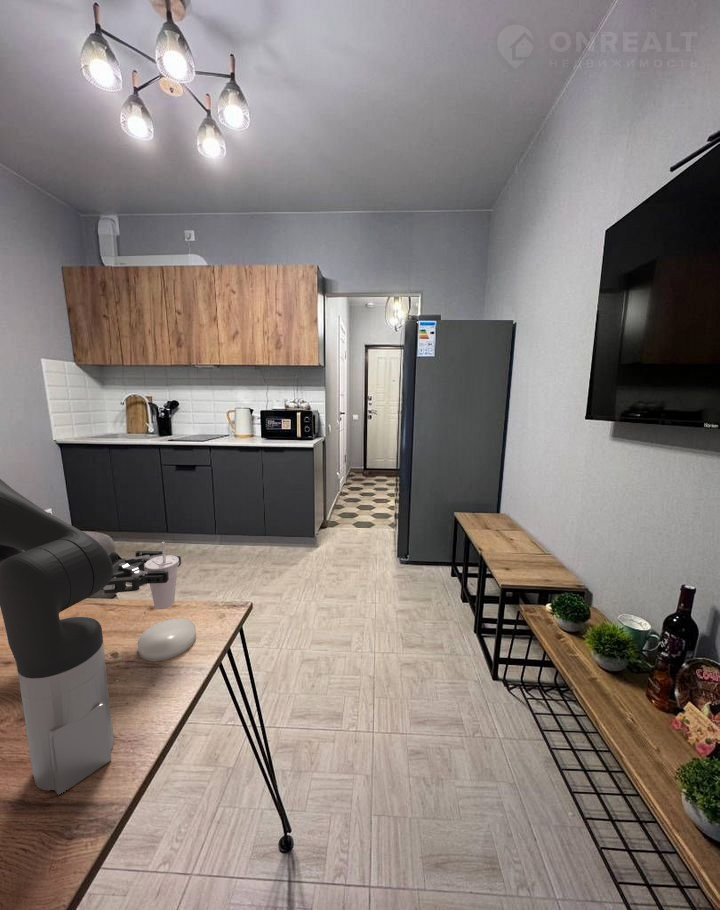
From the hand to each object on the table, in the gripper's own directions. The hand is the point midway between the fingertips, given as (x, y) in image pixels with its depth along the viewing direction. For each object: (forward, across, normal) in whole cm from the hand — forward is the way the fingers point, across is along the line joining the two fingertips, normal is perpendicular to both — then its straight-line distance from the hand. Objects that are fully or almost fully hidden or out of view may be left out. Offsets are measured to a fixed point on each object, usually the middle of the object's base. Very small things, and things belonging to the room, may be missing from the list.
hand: (174, 568), depth 75 cm
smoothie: (-2, 0, +8) cm, 9 cm away
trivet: (-2, 0, +17) cm, 17 cm away
